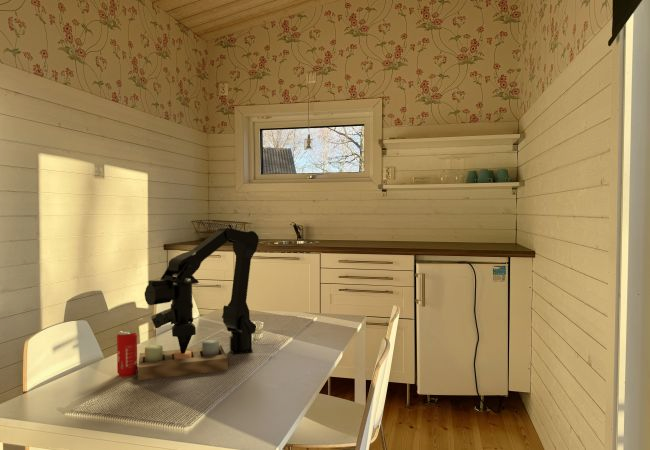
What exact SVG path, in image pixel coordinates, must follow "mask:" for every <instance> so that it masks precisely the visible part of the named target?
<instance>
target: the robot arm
mask: <svg viewBox="0 0 650 450" xmlns="http://www.w3.org/2000/svg"><path fill="white" fill-rule="evenodd" d="M259 241H260V238H259V235H258V234H257V233H256V232H255V231H254V230H239V229H236V228H235V229H234V228H232V227H226V226H225V227H223V226H222V227H219V228H218V229H217V231H215V232H214V233H212V234H211V235H210V236H208V237H207V238H206V239H205V240H203V241H202V242H200V243H199V244H198V245H196V246H195V247H194V248H193V249H190V250H189V251H186V252H183V253H180V254H179V255H176V256H174V257H172V258H171V259H169V261H168V266H167V268H166V269H165V271H164V273H163V274H162V276H161V278H160V279H158V280H157V279H156V280H153V279H152V280H148V285H147V286H146V287H145V289H144V290H145V291H144V298H145V299H144V300H145V301H146V304H147V305H149V306H155V305H160V304H161V305H162V304H168V303H170V302H171V303H170V308H168V309H165V310H162V311H160V312H157V313H155V314H153V315H151V318H150V320H151V321H152V324H153V326H154V328H155V329H159V328H161V327H162V326H164V325H167V324H169V323H170V325H173V326H171V333H172V334H171V335H172V337H174V338H177V341H178V346H179V350H180V351H181V353H185V352H186V349H188V348H189V347H188V346H189V344H190V341H191V339H192V337H193V336H195V335H197V333H196V332H197V328H196V324H194V323H193V322H194V317H193V308H194V304H193V285H194V284H199V283H200V282H199V280H198V279H196V278H195V277H194V274H195V273H196V272H197V271H198V270H199V269H200V267H201V264H202V263H203V262H204V261H205V259H207V258H208V257H209V256H211V255H212V254H214V253H215V252H216V251H217V250H219V249H220V248H221V247H223V246H224V245H225V244H226V243H232V249H233V252H234V255H235V262H234V272H233V280H232V289H231V297H230V298H231V299H230V301H229V303H228V305H223V307H222V308H223V310H222V311H223V312H222V316H221V318H222V322H223V324H224V325H225V327H226V330H227V332H230V335H229V337H228V338H229V339H228V340H229V342H228V343H229V350H230V351H231V353H232V354H233V355H235V354H236V355H237V354H246V353H253V352H254V350H253V347H252V346H253V345H252V342H253V341H252V340H253V339H252V336H253V334H255V333H256V331H257V330H256V329H257V325H256V324H255V323H254V322H253V321H252V320H251V319H250V315H251V314H250V309H249V306H248V303H247V298H248V297H247V296H248V288H249V281H250V280H249V278H250V271H251V261H252V258H253V256H254V255H255V254H256V251H257V249H258V245H259Z"/></svg>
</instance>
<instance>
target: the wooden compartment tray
mask: <svg viewBox="0 0 650 450" xmlns="http://www.w3.org/2000/svg"><path fill="white" fill-rule="evenodd" d="M178 351H180V349H171V350H163V361H155V362H145V352H142V353H139V357H138V363H137V380H138V381H143V380H153V379H162V378H163V379H164V378H170V377H171V378H172V377H178V376H179V377H180V376H187V375H188V376H189V375H196V374H204V373H206V374H207V373H216V372H222V371H223V372H224V371H228V370H229V369H228V364H229V362H228V357H227V355H226V352H225V350H224V348H223V346H222V345H219V355H213V356H204V357H203V356H202V346H201V347H193V348H192V347H191V348H187V349H186V351H191V358H184V359H174V353H175V352H178Z"/></svg>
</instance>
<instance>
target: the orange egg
mask: <svg viewBox="0 0 650 450" xmlns="http://www.w3.org/2000/svg"><path fill="white" fill-rule="evenodd" d="M184 358H191V351H186V352H185V353H181V351H178V352H175V353H174V359H184Z"/></svg>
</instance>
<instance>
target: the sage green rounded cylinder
mask: <svg viewBox="0 0 650 450" xmlns="http://www.w3.org/2000/svg"><path fill="white" fill-rule="evenodd" d="M201 345H202V346H201V347H202V356H203V357H204V356H213V355H219V346H220V341H219V340H217V339H207V340H203V341H202V342H201Z"/></svg>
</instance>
